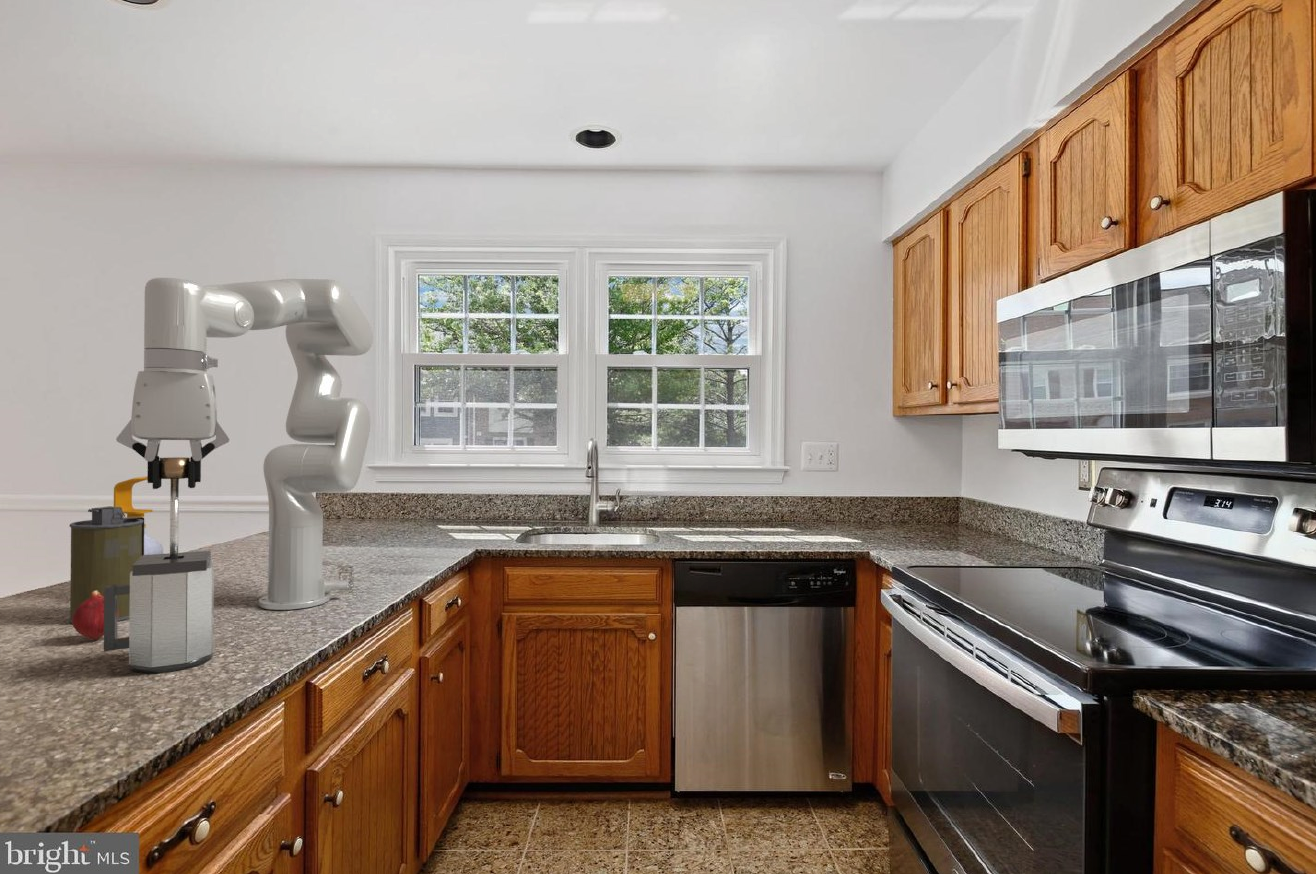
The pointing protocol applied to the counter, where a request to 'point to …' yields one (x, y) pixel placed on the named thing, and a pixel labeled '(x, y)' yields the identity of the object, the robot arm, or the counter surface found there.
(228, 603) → the counter surface
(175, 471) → the plunger
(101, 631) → the onion
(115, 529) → the canister
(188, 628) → the french press
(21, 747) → the counter surface
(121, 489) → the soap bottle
